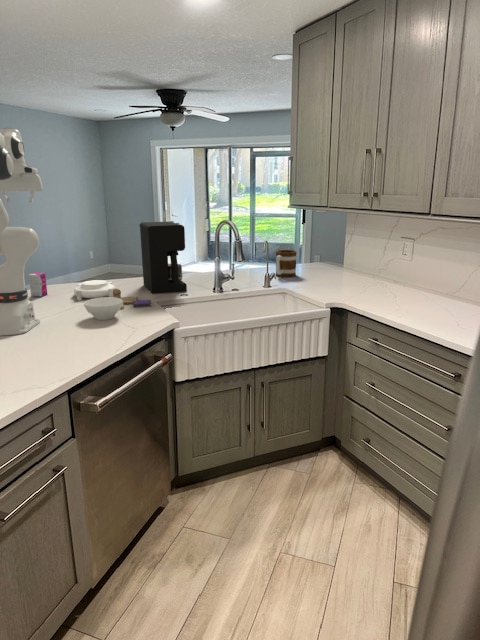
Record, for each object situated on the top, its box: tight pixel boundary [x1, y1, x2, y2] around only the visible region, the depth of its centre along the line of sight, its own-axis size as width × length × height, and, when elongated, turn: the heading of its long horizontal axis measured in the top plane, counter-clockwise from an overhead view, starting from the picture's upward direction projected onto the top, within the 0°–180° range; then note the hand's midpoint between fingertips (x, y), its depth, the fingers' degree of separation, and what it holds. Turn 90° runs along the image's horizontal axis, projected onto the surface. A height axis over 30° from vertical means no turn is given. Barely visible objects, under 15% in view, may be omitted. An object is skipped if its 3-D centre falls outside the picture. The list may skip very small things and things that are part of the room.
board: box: [121, 296, 139, 306], centre depth 222 cm, size 12×12×1 cm
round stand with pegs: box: [73, 279, 117, 301], centre depth 234 cm, size 24×24×7 cm
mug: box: [275, 249, 298, 279], centre depth 279 cm, size 20×14×15 cm
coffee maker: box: [138, 220, 188, 295], centre depth 243 cm, size 28×20×35 cm
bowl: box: [83, 296, 123, 321], centre depth 195 cm, size 16×16×7 cm
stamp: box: [113, 288, 125, 310], centre depth 210 cm, size 5×5×9 cm
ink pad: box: [132, 299, 152, 308], centre depth 216 cm, size 8×8×2 cm
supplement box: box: [28, 272, 48, 298], centre depth 232 cm, size 6×6×12 cm
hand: (19, 202), depth 202 cm, fingers open, 8 cm apart
